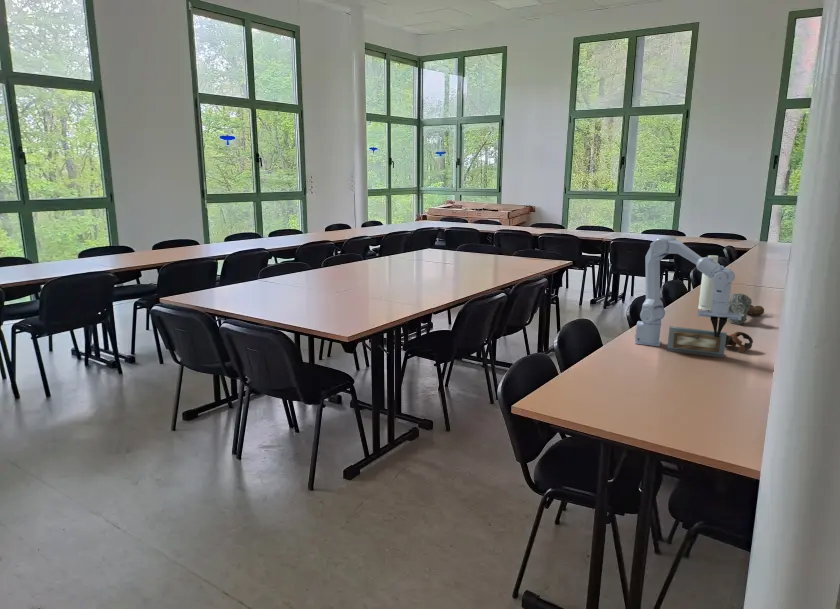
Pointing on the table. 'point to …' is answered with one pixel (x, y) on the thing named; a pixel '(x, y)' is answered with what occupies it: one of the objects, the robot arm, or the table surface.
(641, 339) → the robot arm
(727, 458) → the table surface
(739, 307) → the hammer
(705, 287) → the bottle
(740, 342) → the pottery mug
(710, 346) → the brown rectangular panel
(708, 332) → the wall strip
